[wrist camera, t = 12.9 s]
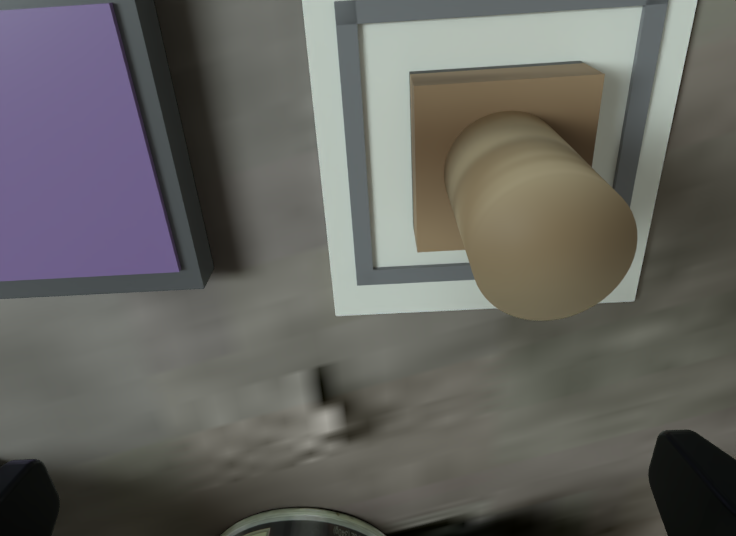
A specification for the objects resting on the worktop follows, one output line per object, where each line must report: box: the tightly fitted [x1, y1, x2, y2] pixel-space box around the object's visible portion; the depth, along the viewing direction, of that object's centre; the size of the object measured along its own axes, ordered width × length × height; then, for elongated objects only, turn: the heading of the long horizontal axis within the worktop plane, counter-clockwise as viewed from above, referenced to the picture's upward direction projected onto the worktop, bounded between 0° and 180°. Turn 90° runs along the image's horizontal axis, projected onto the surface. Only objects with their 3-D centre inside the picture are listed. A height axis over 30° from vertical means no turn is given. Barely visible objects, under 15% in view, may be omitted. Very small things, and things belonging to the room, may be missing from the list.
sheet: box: [302, 0, 698, 316], centre depth 18 cm, size 12×11×1 cm
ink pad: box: [0, 0, 214, 299], centre depth 17 cm, size 10×8×2 cm
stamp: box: [409, 61, 638, 321], centre depth 15 cm, size 5×5×7 cm
